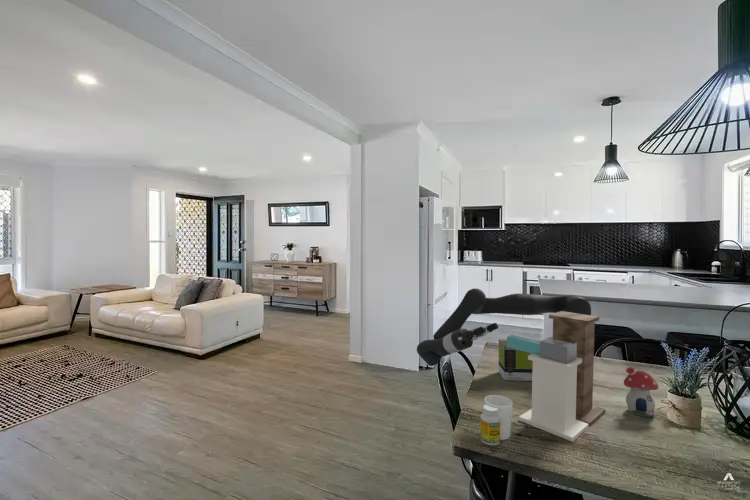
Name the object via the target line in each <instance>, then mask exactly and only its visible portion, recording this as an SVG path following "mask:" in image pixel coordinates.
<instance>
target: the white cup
mask: <svg viewBox="0 0 750 500" xmlns="http://www.w3.org/2000/svg"><path fill="white" fill-rule="evenodd" d="M483 401H484V405H490V406H493V407H497V408H498V414H497V415H499V417H500V441H504V440H508V439H509V438H510V437H511V427H512V423H513V422H512V419H513V405H514V402H513V400H512V399H511V398H509V397H506V396H505V395H500V394H499V395H498V394H488V395H486V396H485V397H484V400H483Z"/></svg>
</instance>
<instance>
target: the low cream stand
mask: <svg viewBox="0 0 750 500" xmlns="http://www.w3.org/2000/svg"><path fill="white" fill-rule="evenodd" d="M528 360H532V361H533V370H532V381H531V383H532V384H531V385H532V386H531V408H530V409H529V410H527V411H526V412H524V413H523V414H521V415H519V416H518V420H519V422H522V423H525V424H527V425H530V426H532V427H535V428H537V429H540V430H543V432H548V433H549V434H552V435H555V436H557V437H560V438H562V439H565V440H567V441H569V442H572V443H573V442H574V441H576V440H577V439H578V438H579V437H580V436H582V434H584V433H585V432H586V431H587V430H588V429H589V424H588V423H585V422H582V421H579V420H576V387H577V365H579V364H580V363H582V359H581V358H577V357H576V359H575V360H574V361H572V362H570V363H568V364H565V363H561V362H557V361H553V360H549V359H545V358H541V357H540V355H537V354H531V355H529V356H528Z"/></svg>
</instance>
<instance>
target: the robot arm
mask: <svg viewBox="0 0 750 500" xmlns="http://www.w3.org/2000/svg"><path fill="white" fill-rule="evenodd" d="M560 311H565V312H571V313H578V314H584V315H591V316H592V307H591V303H590V302H589V300H587V299H586V298H584V297H583V296H579V295H576V294H567V295H545V294H544V295H542V294H534V293H533V294H532V293H512V294H508V295H504V296H499V297H487V296H486V293H485V292H484V290H482V289H480V288H471V289H469V290H467V292H466V293H465V294H464V296H463V298H462V300H461V302H460V303H459V304H458V306H457V307H456V308H455V310H453V313H451V315H449V317H448V318H447V319H446V320H445V321H444V323H442V324H441V326H440V327H439V328H438V329H437V330H436V331H435V333H434V334H433V336H432V337H433V338H432V339H426V340H422V341H421V342H419V343H418V345H417V347H416V353H417V354H418V356H419V357H420V358H421V359H422V360H423V361H424V362H425V364H427V365H428V366H430V367H434V366H437V365H438V364H439V363H438V358H439V360H440V361H441V359H442V358H443V357H447V356H449V355H452V354H455V353H459V352H461V351H462V352H463V351H464V350H467V349H470V348H471V347H472V346H473V345H474V344H473V343H474V341H475V340H479V338H483V337H485V336H486V335H487V334H490V333H493V331H495V330H497V329H499V326H498V325H499V324H498V323H497V322H494V323H491V324H487V325H485V326H479V327H476V328H471V329H467V328H465V327H463V326H464V324H465V322H466V321H467V320H468V319H469V317H470V316H471V315H484V314H486V315H487V314H503V315H518V316H519V315H520V316H536V315H537V316H538V315H543V314H547V313H550V314H553V313H556V312H560ZM439 355H440V357H439Z"/></svg>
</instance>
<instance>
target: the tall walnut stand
mask: <svg viewBox="0 0 750 500" xmlns="http://www.w3.org/2000/svg"><path fill="white" fill-rule="evenodd" d="M548 319H551V320H552V338H557V339H561V340H566V341H571V342H576V343H577V356H576V357H577V358H581V359H582V363H580V364H579V365H577V387H576V420H579V421H582V422H585V423H588V424H589V427H591V426H592V425H594V424H595V423H596V421H598V420H599V419H600V418H601V417H602V416H604V415H605V414H606V408H604V407H600V406H597V405H594V404H593V397H594V395H593V394H594V391H593V390H594V388H593V387H594V357H595V356H594V355H595V326H596V325H595V324H596V322H599V321H600V316H596V315H592V314H591V315H584V314H578V313H571V312H565V311H560V312H556V313H550V314H548Z"/></svg>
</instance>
